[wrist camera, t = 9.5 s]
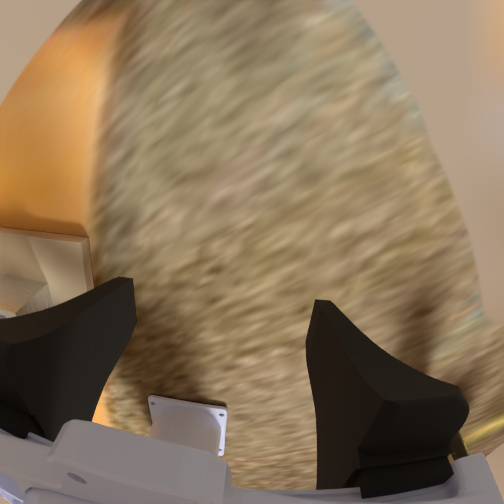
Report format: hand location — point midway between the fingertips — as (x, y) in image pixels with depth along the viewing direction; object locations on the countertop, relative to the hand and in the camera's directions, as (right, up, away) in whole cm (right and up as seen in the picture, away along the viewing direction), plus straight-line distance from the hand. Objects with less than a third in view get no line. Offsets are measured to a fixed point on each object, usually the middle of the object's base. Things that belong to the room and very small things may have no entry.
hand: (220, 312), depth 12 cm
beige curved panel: (-19, -2, +13) cm, 23 cm away
